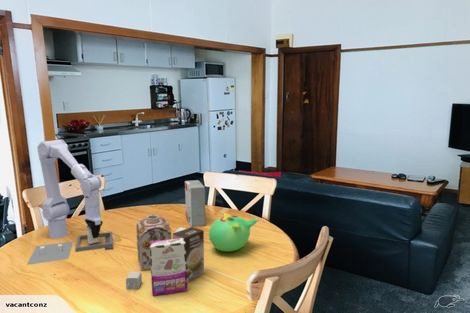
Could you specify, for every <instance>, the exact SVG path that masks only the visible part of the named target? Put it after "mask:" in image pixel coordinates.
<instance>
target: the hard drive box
mask: <svg viewBox="0 0 470 313" xmlns="http://www.w3.org/2000/svg"><path fill="white" fill-rule="evenodd" d="M184 192H185V193H184V194H185V217H186V220H187V222H188V223H189V226H190V227H193V228H196V227H195V226H199V227H203V226H202V225H206V222H207V220H206V187H205V185H203V183H202V182H201V181H200V180H198V179H196V180H185V181H184Z"/></svg>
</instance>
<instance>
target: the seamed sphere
mask: <svg viewBox="0 0 470 313" xmlns="http://www.w3.org/2000/svg"><path fill="white" fill-rule="evenodd" d="M184 229H187V228H186V227H184V226H183V227H178V228H177V229H176V230H175V231H174V233H176V232H179V231H181V230H184Z"/></svg>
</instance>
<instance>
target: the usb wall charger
mask: <svg viewBox="0 0 470 313" xmlns="http://www.w3.org/2000/svg"><path fill="white" fill-rule="evenodd" d="M142 275H143V274H142V272H141V271H129V273H128V275H127V277H126V278H125V288H126V289H127V290H138V289H139V288H140V286H141V284H142V282H143V276H142Z"/></svg>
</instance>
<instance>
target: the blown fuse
mask: <svg viewBox="0 0 470 313" xmlns="http://www.w3.org/2000/svg"><path fill="white" fill-rule="evenodd" d="M86 235H87V238H88V239H87V243H88V244H89V245H91V244H92V245H93V244H96V243H100V237H98V238H93V236H92V232H91V229H90V227H89V226H88V225H86Z"/></svg>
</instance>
